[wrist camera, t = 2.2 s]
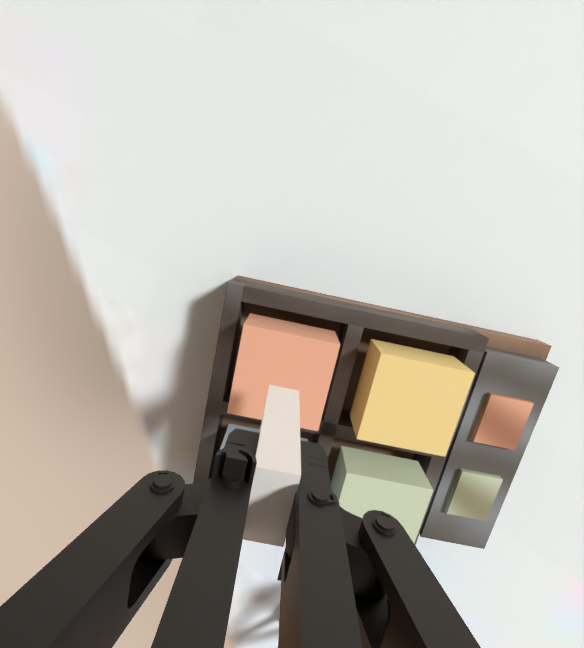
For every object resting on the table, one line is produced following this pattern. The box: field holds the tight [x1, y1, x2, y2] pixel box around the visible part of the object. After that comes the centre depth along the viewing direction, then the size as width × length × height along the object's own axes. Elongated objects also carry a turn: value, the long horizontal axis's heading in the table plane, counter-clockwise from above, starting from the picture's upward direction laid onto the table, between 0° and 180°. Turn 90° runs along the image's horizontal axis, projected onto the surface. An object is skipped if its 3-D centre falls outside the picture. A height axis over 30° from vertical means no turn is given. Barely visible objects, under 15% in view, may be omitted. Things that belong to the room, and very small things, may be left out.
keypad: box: [193, 276, 559, 549], centre depth 27 cm, size 17×23×4 cm
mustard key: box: [350, 339, 475, 457], centre depth 23 cm, size 6×6×3 cm
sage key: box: [331, 446, 433, 543], centre depth 25 cm, size 6×6×3 cm
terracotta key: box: [227, 313, 340, 431], centre depth 23 cm, size 6×6×3 cm
